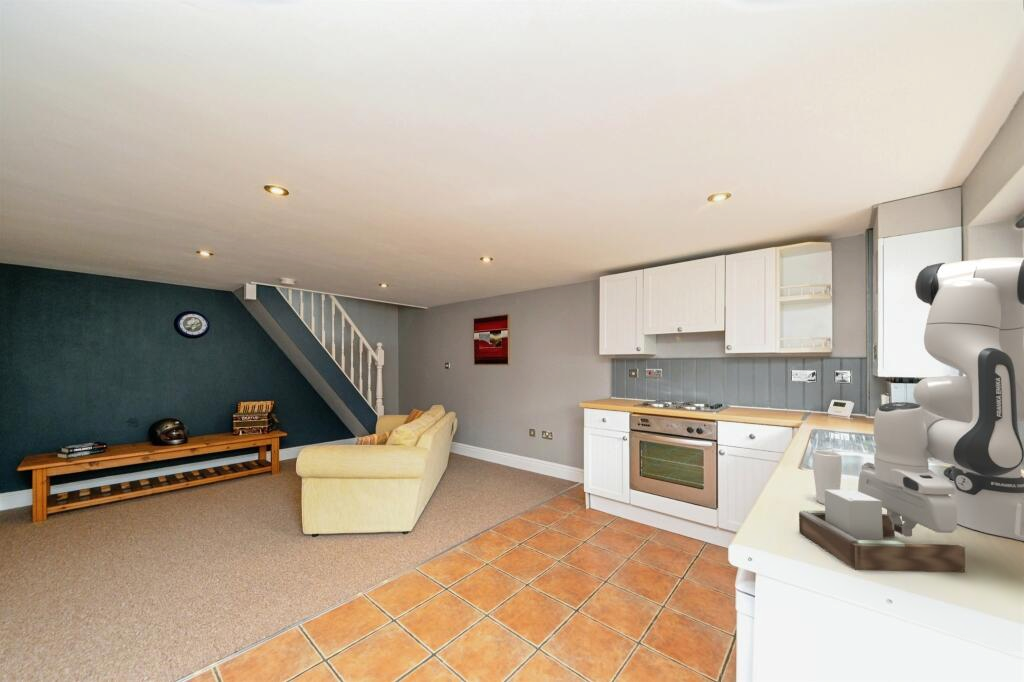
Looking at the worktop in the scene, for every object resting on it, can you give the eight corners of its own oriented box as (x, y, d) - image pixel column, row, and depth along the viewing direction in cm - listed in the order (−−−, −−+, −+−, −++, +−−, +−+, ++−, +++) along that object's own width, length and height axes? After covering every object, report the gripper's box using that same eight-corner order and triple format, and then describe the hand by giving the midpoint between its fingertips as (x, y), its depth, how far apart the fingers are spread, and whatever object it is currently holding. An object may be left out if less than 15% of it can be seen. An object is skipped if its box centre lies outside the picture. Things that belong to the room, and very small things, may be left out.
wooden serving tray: (889, 534, 95) (889, 511, 96) (966, 572, 79) (965, 544, 79) (797, 532, 96) (797, 509, 96) (854, 569, 80) (853, 542, 80)
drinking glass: (844, 509, 110) (843, 457, 111) (815, 504, 114) (814, 453, 114) (840, 501, 116) (839, 452, 117) (812, 497, 120) (811, 449, 120)
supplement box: (885, 559, 84) (883, 501, 84) (849, 558, 84) (848, 500, 85) (856, 542, 91) (855, 489, 92) (824, 541, 92) (823, 488, 92)
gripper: (849, 460, 99) (850, 513, 99) (930, 489, 79) (932, 557, 78) (875, 460, 99) (876, 514, 98) (963, 489, 78) (965, 557, 78)
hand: (902, 533), depth 88 cm, fingers closed
